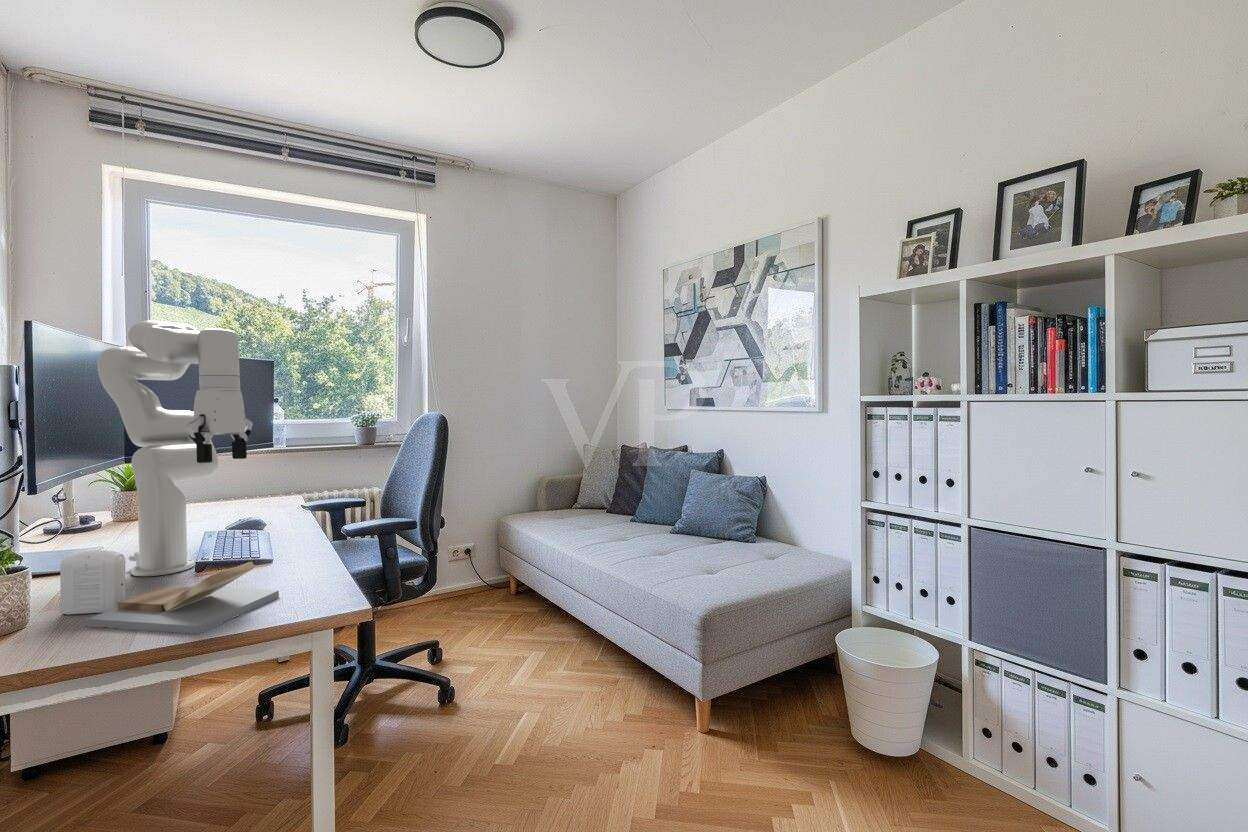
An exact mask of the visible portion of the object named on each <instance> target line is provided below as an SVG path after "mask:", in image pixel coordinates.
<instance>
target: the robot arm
mask: <svg viewBox="0 0 1248 832" xmlns="http://www.w3.org/2000/svg"><path fill="white" fill-rule="evenodd" d="M127 339H128V341H129V343H130V344H131V345H132V346H116V347H110V348H108V349H107V348H106V349H104V350H103V351H102V352H100V354H99V356H98V358H97V363H96V364H97V365H96V366H97V373H98V377H99V380H100V383H101V385H102V386H103V389H104V390H105V391H106V393H107V394H108V395H109V396H110V398H111V399H112V400H113V402H114V404H116V406H117V409H118V413H119V414H120V417H121V420H122V422H123V425H124V428H125V431H126V433H127V436H128V438H129V439H130V440H129V441H131V443H133V444H134V445H135V446H136V447H140V448H138V449H137V450H136V451H135V452H134V453H133V455H132V457H131V469H132V472H133V477H134V482H135V488H136V494H137V495H136V496H137V517H138V518H137V520H138V521H137V522H138V523H137V524H138V525H137V526H138V528H137V530H138V551H136V552H134V553H133V555H130V556H129V557H128V561H129V562H135V563H136V564H135V566H134V567H132V568H131V570H130V574H131V575H132V576H135V577H155V576H164V575H169V574H170V575H171V574H175V573H179V572H183V571H187V570H190V569H191V568H193V567H194V566H196V562H195V561H196V560H195V559H193V558H188V534H187V532H188V530H187V528H188V527H187V499H186V496H185V494H184V493H183V491H182V490H181V489H180V488H179V487H178V486H176V484H175V483H174V482H179V481H188V480H198V479H205V478H208V477H212V476H213V475H214V474H215V473H216V472H217V470H218V467H219V458H218V455H217V454H218V453H217V450H216V448H215V445H214V443H213V441H212V439H213V437H214V436H220V435H221V436H223V435H230V437H231V438H232V439H233V441H232V442H231V453H232V454H231V455H232V456H231V457H232V459H233V460H236V459H237V460H242V459H243V460H244V459H247V457H248V454H247V453H248V452H247V450H248V449H247V442H248V441H249V437H250V435H251V433H252V429H253V426H254V422H253V421H251V420H250V419H248V418H246V412H245V404H244V398H243V394H242V391H241V377H240V375H241V373H240V351H239V350H240V349H239V336H238V334H237V332H235V331H234V330H231V329H225V328H204V329H201V330H200V331H199V330H198V329H197V328H196V327H195V326H193V325H191V324H189V323H183V322H171V321H162V320H153V319H150V320H148V319H147V320H141V321H138V322H136V323H134V324H133V325H131V327H130V328H129V330H128V332H127ZM192 364H193V365H198V382H199V383H198V385H199V390H196V393H195V397H194V404H193V411H191V410H185V409H184V410H183V409H181V410H180V409H174V410H173V409H165V408H163V406H162V404H161V402H160V398H159V397H158V396H157V394H156V393H155V392H154V391H153V390H151V389H150V388H149V387H148V386H147V385H144V384H143V383H142V382H141V383H140V382H139V381H145V380H146V381H176V380H178V379H180V378H182V377H183V376H184V374H185V373H186V371H187V370H188V368H190V365H192Z"/></svg>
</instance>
